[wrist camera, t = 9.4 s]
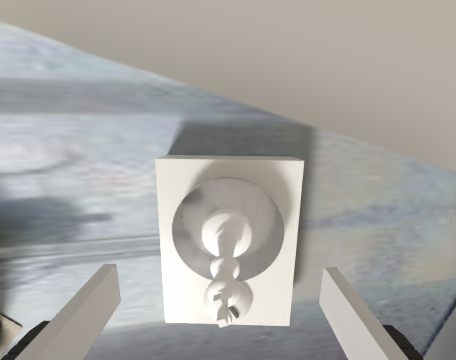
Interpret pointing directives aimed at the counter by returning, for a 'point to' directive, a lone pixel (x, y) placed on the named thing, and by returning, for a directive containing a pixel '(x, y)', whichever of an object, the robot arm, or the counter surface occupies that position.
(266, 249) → the scale pan
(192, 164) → the base
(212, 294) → the chess piece
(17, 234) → the counter surface
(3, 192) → the counter surface
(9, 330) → the condiment
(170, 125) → the counter surface
